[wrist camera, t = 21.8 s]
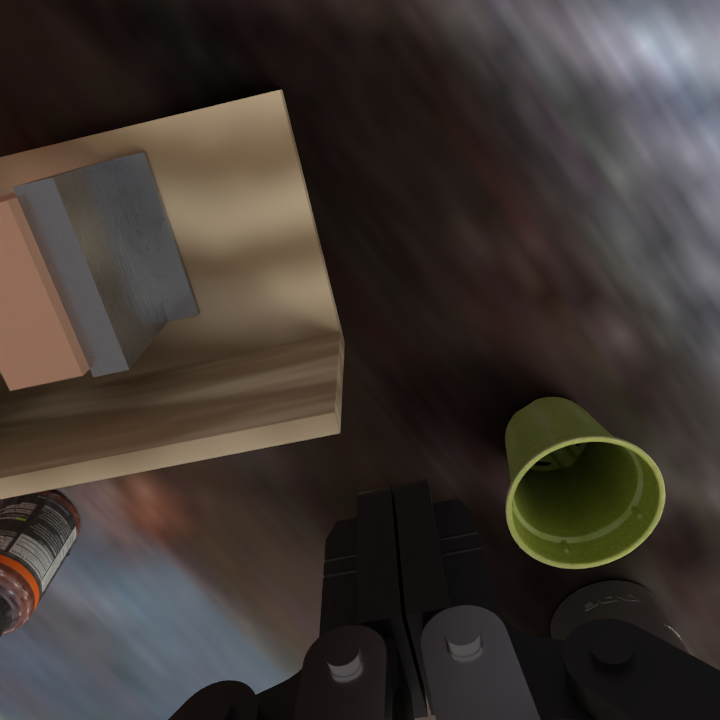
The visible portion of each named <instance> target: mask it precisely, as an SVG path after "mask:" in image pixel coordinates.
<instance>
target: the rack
mask: <svg viewBox="0 0 720 720" xmlns="http://www.w3.org/2000/svg"><path fill="white" fill-rule="evenodd" d="M145 151H146V152H147V155H148V158H149V161H150V164H151V167H152V170H153V173H154V176H155V179H156V182H157V185H158V188H159V191H160V193H161V196H162V199H163V202H164V205H165V208H166V211H167V214H168V217H169V220H170V223H171V226H172V229H173V232H174V235H175V238H176V241H177V244H178V247H179V250H180V253H181V256H182V259H183V262H184V265H185V268H186V271H187V274H188V277H189V280H190V282H191V285H192V288H193V291H194V294H195V297H196V300H197V303H198V306H199V309H200V313H199V315H195V316H190V317H185V318H181V319H176V320H171V321H168V322H167V323H166V325H165V326H164V327H163V328H162V330H161V331H160V332H159V333H158V335H157V336H156V337H155V338H154V340H153V341H152V342H151V343H150V345H149V346H148V347H147V348H146V350H145V351H144V352H143V353H142V355H141V356H140V357H139V358H138V360H137V361H136V362H135V363H134V365H133V366H132V367H131V368H130V370H126V371H121V372H116V373H112V374H107V375H102V376H97V377H93V375H92V373H91V370H90V369H89V370H88V371H87V372H86V373H85V374H84V375H83V376H79V377H74V378H70V379H65V380H60V381H55V382H50V383H46V384H41V385H36V386H31V387H27V388H22V389H17V390H12V391H10V390H9V388H8V386H7V384H6V382H5V380H4V378H3V376H2V374H0V499H5V498H10V497H15V496H20V495H25V494H30V493H36V492H41V491H46V490H51V489H56V488H61V487H66V486H72V485H77V484H82V483H87V482H92V481H97V480H102V479H107V478H113V477H118V476H123V475H128V474H133V473H138V472H143V471H149V470H154V469H159V468H164V467H169V466H174V465H179V464H185V463H190V462H195V461H200V460H205V459H210V458H215V457H221V456H226V455H231V454H236V453H241V452H246V451H251V450H257V449H262V448H267V447H272V446H277V445H282V444H287V443H293V442H298V441H303V440H308V439H313V438H318V437H323V436H329V435H334V434H339V433H340V427H341V407H342V386H343V366H344V345H345V342H344V337H343V333H342V329H341V325H340V321H339V317H338V313H337V309H336V305H335V301H334V297H333V293H332V289H331V285H330V281H329V277H328V273H327V269H326V265H325V261H324V257H323V253H322V248H321V244H320V240H319V236H318V232H317V228H316V224H315V220H314V216H313V212H312V208H311V204H310V200H309V196H308V192H307V188H306V184H305V180H304V176H303V172H302V168H301V164H300V159H299V155H298V151H297V147H296V143H295V139H294V135H293V131H292V127H291V123H290V119H289V115H288V111H287V107H286V103H285V99H284V95H283V91H282V90H277V91H273V92H269V93H264V94H260V95H256V96H252V97H248V98H244V99H240V100H235V101H231V102H227V103H223V104H219V105H215V106H211V107H207V108H202V109H198V110H194V111H190V112H186V113H182V114H178V115H173V116H169V117H165V118H161V119H157V120H153V121H149V122H144V123H140V124H136V125H132V126H128V127H124V128H120V129H115V130H111V131H107V132H103V133H99V134H95V135H91V136H86V137H82V138H78V139H74V140H70V141H66V142H62V143H57V144H53V145H49V146H45V147H41V148H37V149H33V150H29V151H24V152H20V153H16V154H12V155H8V156H4V157H0V196H4V195H7V194H10V193H13V192H14V189H13V187H14V186H18V185H21V184H25V183H28V182H31V181H35V180H38V179H41V178H45V177H48V176H52V175H55V174H58V173H62V172H65V171H69V170H72V169H75V168H79V167H82V166H87V165H91V164H95V163H99V162H103V161H108V160H112V159H116V158H120V157H124V156H129V155H133V154H137V153H141V152H145Z"/></svg>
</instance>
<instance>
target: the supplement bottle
mask: <svg viewBox="0 0 720 720" xmlns="http://www.w3.org/2000/svg"><path fill="white" fill-rule="evenodd" d="M79 532H80V519H79V515H78V513H77V511H76V509H75V508H74V506H73V505H72V504H71V502H69V501H68V500H67V499H66V498H64V497H63V496H62V495H60V494H58V493H55V492H53V491H50V490H46V491H41V492H36V493H30V494H25V495H20V496H15V497H10V498H7V499H6V500H5V502H4V503H3V504H2V505H1V506H0V637H1V635H5V634H7V633H10V632H13V631H15V630H17V629H18V628H20V627H21V626H22V625H24V624H25V622H27V620H28V619H29V618H30V616H31V614H32V613H33V611H34V609H35V608H36V607H37V605H38V603H39V601H40V599H41V598H42V597H43V595H44V593H45V592H46V590H47V588H48V586H49V585H50V583H51V582H52V580H53V578H54V577H55V575H56V573H57V571H58V570H59V568H60V566H61V565H62V563H63V561H64V560H65V558H66V557H67V556H68V555H69V554H70V553H69V552H70V550H71V548H72V547H73V545H74V543H75V542H76V539H77V537H78V535H79Z"/></svg>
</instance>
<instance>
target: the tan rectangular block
mask: <svg viewBox="0 0 720 720" xmlns="http://www.w3.org/2000/svg"><path fill="white" fill-rule="evenodd" d="M89 369H90V368H89V366H88V363H87V361H86V359H85V356H84V354H83V351H82V349H81V347H80V344H79V342H78V340H77V337H76V335H75V333H74V330H73V328H72V326H71V323H70V321H69V319H68V316H67V314H66V312H65V309H64V307H63V304H62V302H61V300H60V297H59V295H58V293H57V290H56V288H55V286H54V283H53V281H52V279H51V276H50V274H49V272H48V269H47V267H46V265H45V262H44V260H43V257H42V255H41V253H40V250H39V248H38V246H37V243H36V241H35V239H34V236H33V234H32V232H31V229H30V227H29V225H28V222H27V220H26V218H25V215H24V213H23V211H22V208H21V206H20V203H19V201H18V199H17V196H16V194H15V192H13V193H10V194H7V195H4V196H0V372H1V374H2V376H3V378H4V380H5V382H6V384H7V386H8V388H9V390H10V391H12V390H17V389H22V388H27V387H31V386H36V385H41V384H46V383H50V382H55V381H60V380H65V379H70V378H74V377H79V376H83V375H84V374H85V373H86V372H87V371H88V370H89Z"/></svg>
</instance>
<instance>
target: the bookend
mask: <svg viewBox="0 0 720 720" xmlns="http://www.w3.org/2000/svg"><path fill="white" fill-rule="evenodd" d="M13 189H14V192H15V194H16V196H17V199H18V201H19V203H20V206H21V208H22V211H23V213H24V215H25V218H26V220H27V222H28V225H29V227H30V229H31V232H32V234H33V236H34V239H35V241H36V243H37V246H38V248H39V250H40V253H41V255H42V257H43V260H44V262H45V265H46V267H47V269H48V272H49V274H50V276H51V279H52V281H53V283H54V286H55V288H56V290H57V293H58V295H59V297H60V300H61V302H62V304H63V307H64V309H65V312H66V314H67V316H68V319H69V321H70V323H71V326H72V328H73V330H74V333H75V335H76V337H77V340H78V342H79V344H80V347H81V349H82V351H83V354H84V356H85V359H86V361H87V363H88V366H89V368H90V370H91V373H92V375H93V377H97V376H102V375H107V374H112V373H116V372H121V371H126V370H130V368H131V367H132V366H133V365H134V363H135V362H136V361H137V360H138V358H139V357H140V356H141V355H142V353H143V352H144V351H145V350H146V348H147V347H148V346H149V345H150V343H151V342H152V341H153V340H154V338H155V337H156V336H157V335H158V333H159V332H160V331H161V330H162V328H163V327H164V326H165V325H166V323H167V322H168V321H171V320H176V319H181V318H185V317H190V316H195V315H199V313H200V309H199V306H198V303H197V300H196V297H195V294H194V291H193V288H192V285H191V282H190V280H189V277H188V274H187V271H186V268H185V265H184V262H183V259H182V256H181V253H180V250H179V247H178V244H177V241H176V238H175V235H174V232H173V229H172V226H171V223H170V220H169V217H168V214H167V211H166V208H165V205H164V202H163V199H162V196H161V193H160V191H159V188H158V185H157V182H156V179H155V176H154V173H153V170H152V167H151V164H150V161H149V158H148V155H147V152H146V151H145V152H141V153H137V154H133V155H129V156H124V157H120V158H116V159H112V160H108V161H103V162H99V163H95V164H91V165H87V166H82V167H79V168H75V169H72V170H69V171H65V172H62V173H58V174H55V175H52V176H48V177H45V178H41V179H38V180H35V181H31V182H28V183H25V184H21V185H18V186H14V187H13Z"/></svg>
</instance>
